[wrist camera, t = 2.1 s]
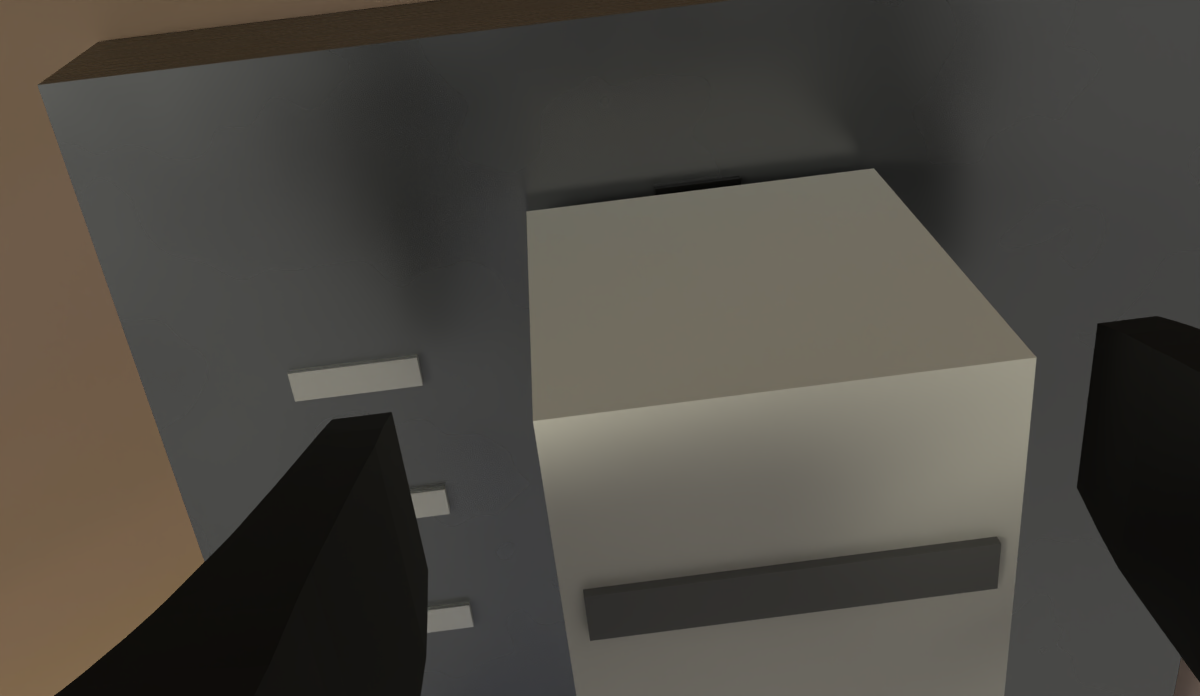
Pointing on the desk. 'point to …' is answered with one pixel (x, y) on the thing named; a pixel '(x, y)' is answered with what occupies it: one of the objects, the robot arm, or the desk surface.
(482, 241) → the console panel
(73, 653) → the desk surface
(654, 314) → the fader cap
